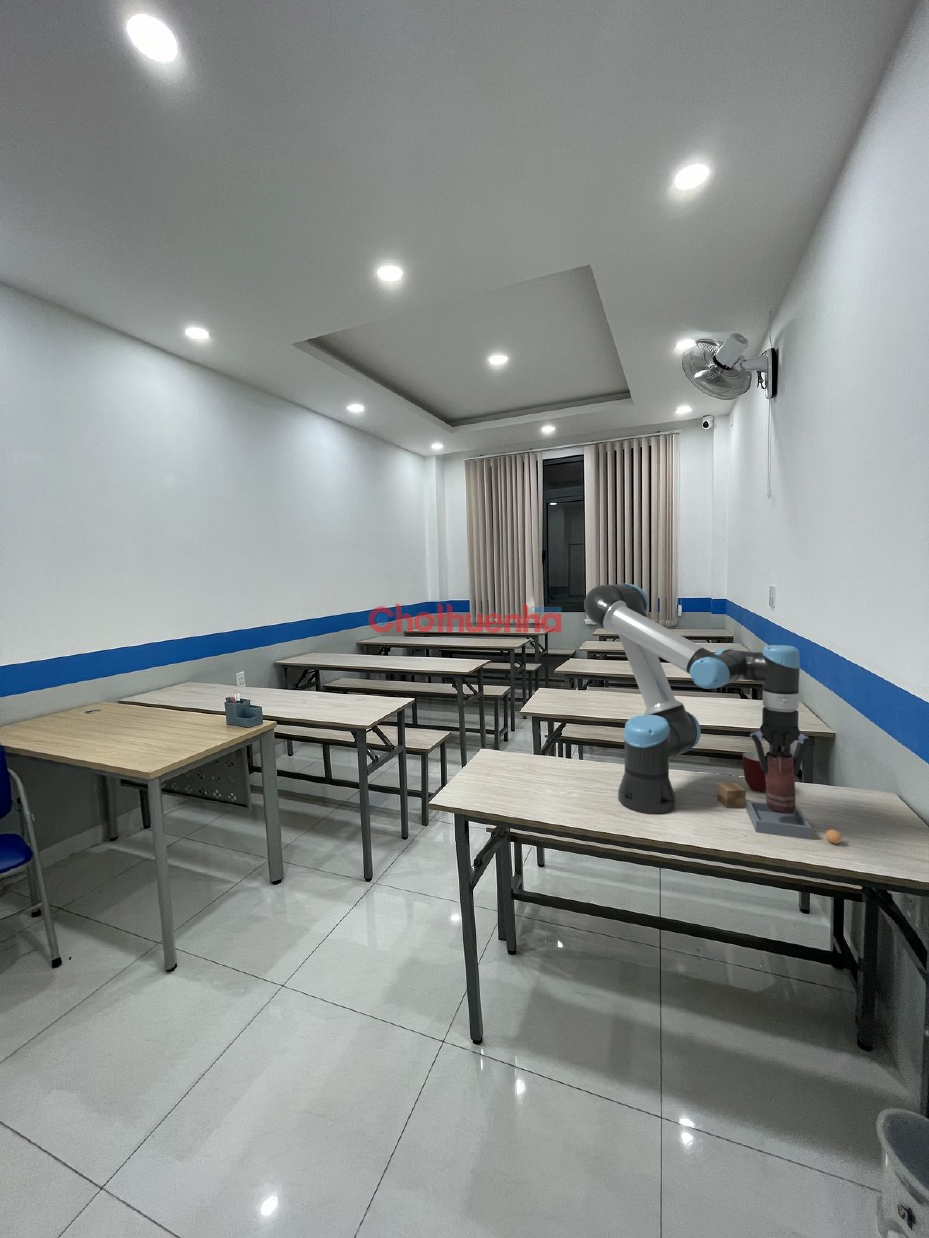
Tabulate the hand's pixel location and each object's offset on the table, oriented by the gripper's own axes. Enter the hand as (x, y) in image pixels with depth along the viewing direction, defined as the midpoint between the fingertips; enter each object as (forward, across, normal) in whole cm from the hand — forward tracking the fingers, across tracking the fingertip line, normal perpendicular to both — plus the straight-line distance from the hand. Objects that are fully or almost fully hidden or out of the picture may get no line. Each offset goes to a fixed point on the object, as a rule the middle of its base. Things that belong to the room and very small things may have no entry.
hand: (778, 800), depth 123 cm
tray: (+6, 0, 0) cm, 6 cm away
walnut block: (+6, -9, +9) cm, 14 cm away
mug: (+7, +1, +21) cm, 22 cm away
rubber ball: (+5, +10, -6) cm, 13 cm away
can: (+2, +1, 0) cm, 2 cm away
